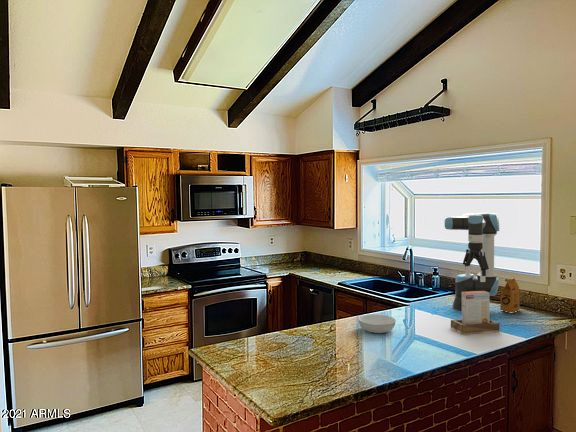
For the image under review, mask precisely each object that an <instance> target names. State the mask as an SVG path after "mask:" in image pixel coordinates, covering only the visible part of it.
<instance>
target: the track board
mask: <svg viewBox="0 0 576 432" xmlns="http://www.w3.org/2000/svg"><path fill="white" fill-rule="evenodd" d="M500 326H501V325H500V323H499V322H497V321H495V320H492V319H490V323H482V324H468V325H464V324H462V318H457V319H450V329H452V330H453V331H455V332H457V333H460V334H461V335H464V336H470V335H480V334H493V333H494V334H495V333H500Z"/></svg>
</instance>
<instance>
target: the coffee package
mask: <svg viewBox="0 0 576 432" xmlns="http://www.w3.org/2000/svg"><path fill="white" fill-rule="evenodd" d="M504 281H505V282H506V283H505V285H504V287H503V289H502V290H501V292H500V305H499V306H500V309H499V310H500V311H501V310H503V311H507V312H514V313H516V312H515V311H518V310H519V311H520V305H521V304H520V300H521V299H520V297H521V296H520V295H521V294H520V293H521V292H520V286H519V284H518V283H517V280H516V279H515V277H514V276H513V277H511V278H506V279H505V280H504ZM519 311H518V312H519Z"/></svg>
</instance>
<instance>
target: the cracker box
mask: <svg viewBox="0 0 576 432" xmlns="http://www.w3.org/2000/svg"><path fill="white" fill-rule="evenodd" d="M490 297H491V295H490V293H489V292H486V291H467V292H462V310H461V319H462V324H464V325H468V324H482V323H490V320H491V319H490V317H491V316H490V313H491V312H490V310H491V309H490V303H491V302H490Z"/></svg>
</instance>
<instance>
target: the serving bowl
mask: <svg viewBox="0 0 576 432" xmlns="http://www.w3.org/2000/svg"><path fill="white" fill-rule="evenodd" d="M357 321H358V324H359V326H360V327H361V329H363V330H365V332H369V333H372V332H373V333H374V334H383V333H388V332H390V331H392V330H393V329H394V327H395V326H396V322H397V320H396V319H395V318H394V317H392V316H389V315H385V314H375V313H374V314H370V313H369V314H363V315H360V316H359V317H358V318H357Z"/></svg>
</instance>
